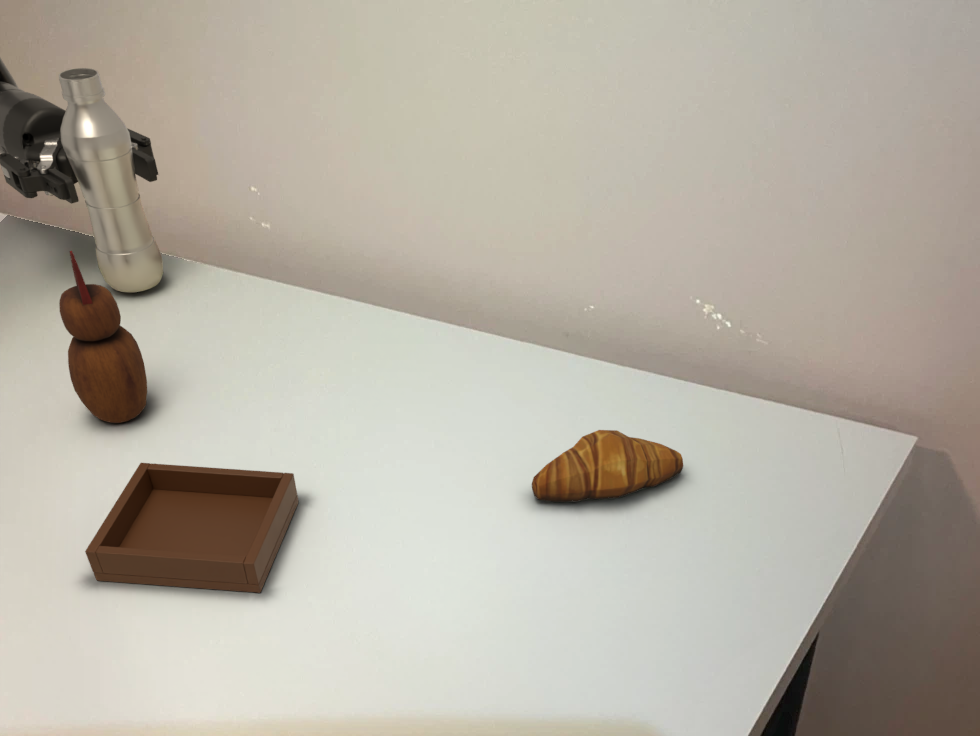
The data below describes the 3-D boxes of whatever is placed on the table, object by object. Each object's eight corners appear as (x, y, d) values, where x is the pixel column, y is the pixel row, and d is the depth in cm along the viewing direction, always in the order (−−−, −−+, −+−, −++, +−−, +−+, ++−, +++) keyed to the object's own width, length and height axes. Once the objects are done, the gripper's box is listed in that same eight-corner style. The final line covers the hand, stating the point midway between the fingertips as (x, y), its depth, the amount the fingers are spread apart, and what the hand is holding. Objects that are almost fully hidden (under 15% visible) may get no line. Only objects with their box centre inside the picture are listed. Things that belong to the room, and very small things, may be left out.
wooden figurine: (146, 431, 90) (96, 261, 79) (80, 432, 90) (19, 262, 79) (160, 392, 95) (114, 226, 84) (97, 393, 95) (42, 226, 83)
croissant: (663, 451, 90) (670, 400, 86) (696, 494, 86) (704, 442, 82) (518, 478, 87) (519, 426, 83) (545, 524, 82) (546, 471, 79)
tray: (96, 581, 77) (84, 551, 74) (149, 491, 84) (140, 462, 82) (260, 593, 76) (253, 563, 74) (299, 501, 84) (293, 472, 82)
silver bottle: (178, 275, 111) (127, 65, 96) (151, 303, 107) (94, 87, 92) (122, 270, 112) (64, 60, 97) (94, 297, 107) (27, 82, 93)
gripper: (-43, 112, 102) (31, 157, 94) (89, 84, 109) (168, 123, 101) (-14, 191, 108) (58, 239, 100) (109, 159, 114) (186, 202, 107)
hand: (113, 181), depth 101 cm, fingers open, 8 cm apart
